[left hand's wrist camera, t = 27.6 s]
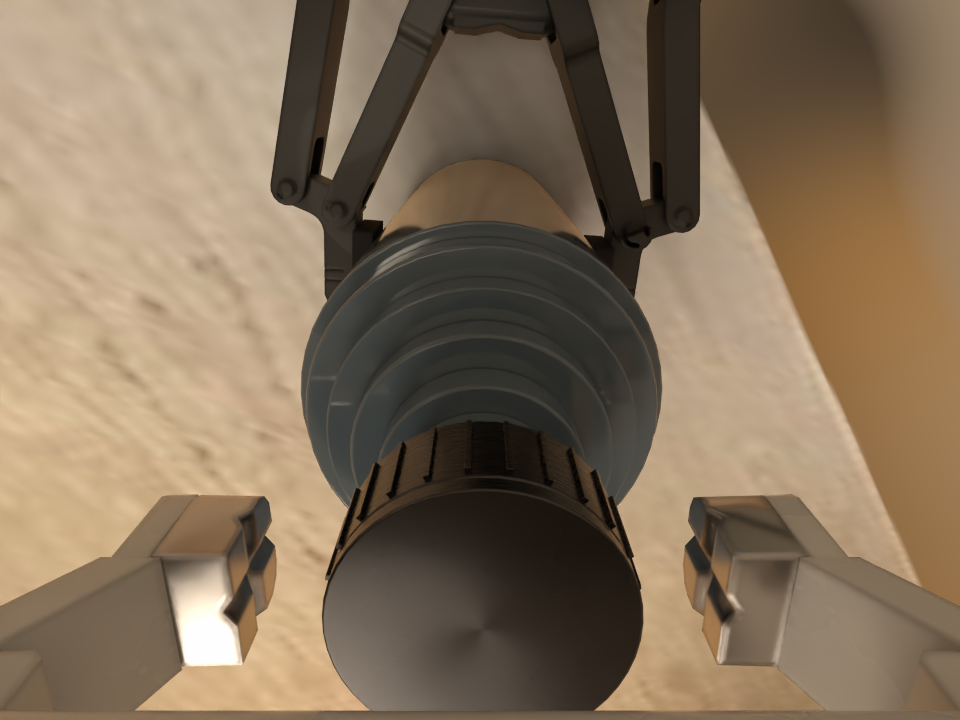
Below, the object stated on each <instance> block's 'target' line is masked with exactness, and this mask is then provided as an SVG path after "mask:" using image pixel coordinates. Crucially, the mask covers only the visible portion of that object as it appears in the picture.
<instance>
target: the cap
mask: <svg viewBox="0 0 960 720" xmlns="http://www.w3.org/2000/svg"><path fill="white" fill-rule="evenodd" d="M633 557H634V555H633V552H632V549H631V546H630V544H629V541H628V538H627V535H626V532H625V529H624V526H623V523H622V520H621V518H620V515H619V512H618V509H617V506H616V503H615V500H614V498H613V496H611V497H609V496H608V494H607V492H606V490H605V488H604V486H603V484H602V481H601V478H600V475H599V472H598V471H597V470H596V469H595V470H592V469H591V467H590V466H589V465H588V464H587V463H586V462H585V461H584V460H583V459H582V458H581V457H580V456H579V455H577V454H576V451H575V449H574V448H573V447H570V448H568V447H567V446H565V445H564V444H562V443H560V442H559V441H557V440H555V439H553V438H552V437H550V436H548V435H545V432H544V431H542V430H539V432H538V431H535V430H533V429H530V428H526V427H522V426H519V425H515V424H510V423H509V421H503V423H502V422H494V421H473V422H472V420H466V422H462V423H455V424H451V425H446V426H441V427H438V428H436V426H435V427H432V428H430V431H427V432H424V433H422V434H420V435H418V436H416V437H414V438H412V439H410V440H407V441H406V442H403V441H401V442H399V443H398V446H397V448H395V449H394V450H392V451H391V452H390V453H389V454H388V455H387V456H385V457H384V458H383V459H382V460H381V461H380V462H379V463H377V462H375V463H374V464H373V465H372V467H371V471H370V473H369V475H368V476H367V478H366V479H365V481H364V482H363V484H362V486H361V487H360V489H358V488H356V489H355V491H354V493H353V496H352V499H351V502H350V505H349V508H348V511H347V514H346V516H345V519H344V522H343V525H342V528H341V531H340V534H339V537H338V540H337V543H336V546H335V549H334V552H333V555H332V558H331V561H330V564H329V567H328V570H327V573H326V577H325V580H328V584H327V587H326V591H325V595H324V599H323V609H322V624H323V634H324V638H325V643H326V647H327V651H328V653H329V656H330V658H331V661H332V663H333V666H334V667H335V669H336V671H337V672H338V674H339V676H340V678H341V679H342V681H343V682H344V683H345V685H346V686H347V687H348V688H349V690H350V691H351V692H352V693H353V694H354V695H355V696H356V697H357V698H358V699H359V700H360V701H361V702H362V703H363V704H364V705H365V706H366V707H367V708H369V709H370V710H371V711H594V710H595V709H596V708H598V707H599V706H600V705H601V704H602V703H603V702H605V701H606V700H607V699H608V698H609V697H610V695H611V694H612V693H613V692H614V691H615V690H616V689H617V688H618V687H619V685H620V684H621V682H622V681H623V679H624V678H625V676H626V675H627V673H628V672H629V670H630V668H631V665H632V663H633V661H634V659H635V657H636V654H637V651H638V648H639V644H640V641H641V636H642V629H643V603H642V598H641V592H640V589H641V584H640V581H639V578H638V575H637V572H636V569H635V566H634V563H633V560H632V558H633Z"/></svg>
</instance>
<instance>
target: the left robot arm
mask: <svg viewBox="0 0 960 720" xmlns="http://www.w3.org/2000/svg"><path fill="white" fill-rule="evenodd" d="M271 522H272V519H271V513H270V506H269V502H268V501H267V499H266V498H265V497H264V496H223V495H200V496H199V495H168V496H163V497H161V498H160V499H159V501H158V502H157V503H156V504H155V505H154V507H153V508H152V509H151V510H150V511H149V513H148V514H147V515H146V516H145V517H144V519H143V520H142V521H141V522H140V523H139V525H138V526H137V527H136V528H135V529H134V531H133V532H132V533H131V534H130V535H129V537H128V538H127V539H126V540H125V541H124V543H123V544H122V545H121V546H120V547H119V548H118V550H117V551H116V552H115V553H114V554H113V556H112V557H100V558H98V559H96V560H94V561H92V562H90V563H88V564H86V565H84V566H82V567H80V568H78V569H76V570H74V571H72V572H70V573H67V574H65V575H63V576H61V577H59V578H57V579H55V580H53V581H51V582H49V583H47V584H45V585H43V586H41V587H39V588H37V589H35V590H33V591H31V592H29V593H27V594H25V595H22V596H20V597H18V598H16V599H14V600H12V601H10V602H8V603H6V604H4V605H2V606H0V720H960V606H958V605H956V604H954V603H951V602H949V601H947V600H945V599H943V598H941V597H939V596H937V595H935V594H933V593H931V592H929V591H927V590H925V589H923V588H921V587H919V586H917V585H915V584H913V583H911V582H909V581H907V580H905V579H903V578H901V577H899V576H897V575H894V574H892V573H890V572H888V571H886V570H884V569H882V568H880V567H878V566H876V565H874V564H872V563H870V562H868V561H866V560H864V559H862V558H860V557H848V556H847V555H846V553H845V552H844V551H843V550H842V549H841V547H840V546H839V545H838V544H837V543H836V541H835V540H834V539H833V538H832V537H831V535H830V534H829V533H828V532H827V531H826V529H825V528H824V527H823V526H822V525H821V523H820V522H819V521H818V520H817V519H816V518H815V516H814V515H813V514H812V513H811V512H810V510H809V509H808V508H807V507H806V506H805V504H804V503H803V502H802V501H801V500H800V498H799V497H796V496H794V495H792V494H787V495H762V496H725V497H694V498H693V500H692V503H691V506H690V511H689V518H688V522H689V524H690V526H691V528H692V530H693V532H694V534H695V536H694V537H693V538H692V539H691V540H690V541H689V542H688V543H687V544H686V545H685V551H684V562H683V568H684V582H685V587H686V591H687V595H688V598H689V600H690V603H691V605H692V608H693V609H695V610H696V611H697V612H699V613H700V614H702V615H703V616H704V620H703V627H702V631H703V633H704V636H705V638H706V640H707V642H708V645H709V647H710V649H711V651H712V654H713V656H714V658H715V661H716V663H717V665H743V666H778V670H779V671H781V672H782V673H783V674H784V675H785V676H786V677H788V678H789V679H790V680H791V681H792V682H793V683H795V684H796V685H797V686H798V687H799V688H800V689H802V690H803V691H804V692H805V693H806V694H807V695H809V696H810V697H811V698H812V699H813V700H814V701H816V702H817V703H818V704H819V705H820V706H821V707H822V708H824V709H825V710H826V711H134V710H135V709H137V708H138V707H139V706H140V705H141V704H142V703H144V702H145V701H146V700H147V699H148V698H149V697H151V696H152V695H153V694H154V693H155V692H156V691H158V690H159V689H160V688H161V687H162V686H163V685H165V684H166V683H167V682H168V681H169V680H170V679H172V678H173V677H174V676H175V675H176V674H177V673H179V672H180V671H181V670H182V667H181V666H216V665H243V663H244V661H245V658H246V656H247V654H248V652H249V649H250V647H251V645H252V642H253V640H254V638H255V636H256V633H257V631H258V627H257V620H256V616H257V615H258V614H260V613H261V612H263V611H264V610H265V609H267V608H268V605H269V603H270V600H271V598H272V595H273V591H274V585H275V580H276V564H277V559H276V550H275V545H274V544H273V543H272V542H271V541H270V540H269V539H268V538H267V537H266V536H265V534H266V532H267V530H268V528H269V526H270V524H271Z"/></svg>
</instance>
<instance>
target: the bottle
mask: <svg viewBox="0 0 960 720" xmlns="http://www.w3.org/2000/svg"><path fill="white" fill-rule="evenodd" d="M661 396H662V378H661V365H660V360H659V355H658V350H657V345H656V342H655V340H654V337H653V334H652V331H651V328H650V326H649V323H648V321H647V319H646V318H645V316H644V314H643V312H642V310H641V308H640V306H639V304H638V303H637V301H636V300H635V299H634V297H633V296H632V295H631V293H630V292H629V290H628V289H627V288H626V286H625V285H624V284H623V283H622V281H621V280H620V279H619V278H618V276H617V275H616V274H615V273H614V272H613V270H612V269H611V268H610V267H609V266H608V264H607V263H606V262H605V261H604V260H603V258H602V257H601V256H600V255H599V254H598V252H597V251H596V250H595V249H594V248H593V246H592V245H591V244H590V243H589V242H588V240H587V239H586V238H585V237H584V236H583V234H582V233H581V232H580V231H579V230H578V228H577V227H576V226H575V225H574V224H573V222H572V221H571V220H570V219H569V218H568V216H567V215H566V214H565V213H564V212H563V210H562V209H561V208H560V207H559V206H558V204H557V203H556V202H555V201H554V200H553V198H552V197H551V196H550V195H549V193H548V192H547V191H546V190H545V189H544V188H543V187H542V186H541V185H540V184H539V182H538V181H537V180H535V179H534V178H533V177H531V176H530V175H529V174H528V173H526V172H524V171H523V170H521V169H519V168H517V167H515V166H512V165H510V164H508V163H504V162H500V161H496V160H488V159H473V160H466V161H461V162H458V163H454V164H451V165H449V166H447V167H444V168H442V169H440V170H439V171H437V172H435V173H434V174H432V175H431V176H430V177H429V178H427V179H426V180H425V181H424V182H423V183H422V184H421V185H420V186H419V187H418V188H417V189H416V190H415V191H414V193H413V194H412V195H411V196H410V198H409V199H408V200H407V201H406V203H405V204H404V205H403V206H402V207H401V209H400V210H399V211H398V212H397V214H396V215H395V216H394V217H393V219H392V220H391V221H390V222H389V223H388V225H387V226H386V227H385V228H384V230H383V231H382V232H381V233H380V235H379V236H378V237H377V238H376V239H375V241H374V242H373V243H372V244H371V246H370V247H369V248H368V249H367V251H366V252H365V253H364V254H363V256H362V257H361V258H360V259H359V260H358V262H357V263H356V264H355V265H354V267H353V268H352V269H351V270H350V272H349V273H348V274H347V275H346V276H345V278H344V279H343V280H342V281H341V283H340V284H339V285H338V286H337V288H336V289H335V290H334V292H333V293H332V295H331V296H330V298H329V299H328V300H327V302H326V303H325V305H324V306H323V308H322V310H321V312H320V314H319V316H318V318H317V320H316V322H315V324H314V326H313V328H312V331H311V334H310V337H309V340H308V343H307V346H306V349H305V355H304V360H303V366H302V374H301V398H302V407H303V415H304V419H305V423H306V427H307V430H308V434H309V437H310V440H311V444H312V448H313V451H314V454H315V456H316V459H317V461H318V463H319V466H320V468H321V471H322V472H323V474H324V476H325V478H326V479H327V481H328V483H329V484H330V486H331V488H332V489H333V491H334V492H335V493H336V495H337V496H338V497H339V498H340V500H341V501H342V502H343V504H344V505H345V506H346V507H347V508H349V505H350V502H351V499H352V496H353V493H354V491H355V489H356V488H358V489H360V487H361V486H362V484H363V482H364V481H365V479H366V478H367V476H368V475H369V473H370V471H371V467H372V465H373V464H374V463H375V462H377V463H379V462H380V461H381V460H382V459H383V458H384V457H385V456H387V455H388V454H389V453H390V452H391V451H392V450H394V449H395V448H397V446H398V443H399V442H401V441H403V442H406V441H407V440H410V439H412V438H414V437H416V436H418V435H420V434H422V433H424V432H427V431H430V428H432V427H435V426H436V428H438V427H441V426H446V425H451V424H455V423H462V422H466V420H472V422H473V421H494V422H502V423H503V421H509V423H510V424H515V425H519V426H522V427H526V428H530V429H533V430H535V431H538V432H539V430H542V431H544V432H545V435H548V436H550V437H552V438H553V439H555V440H557V441H559V442H560V443H562V444H564V445H565V446H567V447H568V448H570V447H573V448H574V449H575V451H576V454H577V455H579V456H580V457H581V458H582V459H583V460H584V461H585V462H586V463H587V464H588V465H589V466H590V467H591V469H592V470H595V469H596V470H597V471H598V472H599V475H600V478H601V481H602V484H603V486H604V488H605V490H606V492H607V494H608V496H609V497H611V496H613V498H614V500H615V503H616V506H618V505H619V503H620V502H621V501H622V500H623V499H624V497H625V496H626V494H627V493H628V492H629V490H630V489H631V488H632V486H633V485H634V483H635V481H636V479H637V478H638V476H639V474H640V472H641V470H642V468H643V466H644V464H645V461H646V459H647V456H648V453H649V451H650V448H651V445H652V441H653V436H654V434H655V431H656V427H657V422H658V418H659V414H660V408H661Z"/></svg>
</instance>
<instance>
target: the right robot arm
mask: <svg viewBox="0 0 960 720" xmlns="http://www.w3.org/2000/svg"><path fill="white" fill-rule="evenodd" d="M349 2H350V0H297V3H296V10H295V17H294V24H293V31H292V38H291V45H290V52H289V59H288V66H287V73H286V80H285V87H284V94H283V101H282V108H281V115H280V122H279V129H278V136H277V143H276V150H275V157H274V164H273V171H272V178H271V192H272V194H273V197H274V198H275V199H276V200H277V201H278V202H279V203H281V204H284V205H293V206H295V207H298V208H300V209H302V210H305V211H307V212H309V213H311V214H313V215H314V216H316V217H317V218H318V219H319V221H320V222H321V224H322V226H323V229H324V261H325V296H326V298H327V300H328V299H329V298H330V296H331V295H332V293H333V292H334V290H335V289H336V288H337V286H338V285H339V284H340V283H341V281H342V280H343V279H344V278H345V276H346V275H347V274H348V273H349V272H350V270H351V269H352V268H353V267H354V265H355V264H356V263H357V262H358V260H359V259H360V258H361V257H362V256H363V254H364V253H365V252H366V251H367V249H368V248H369V247H370V246H371V244H372V243H373V242H374V241H375V239H376V238H377V237H378V236H379V235H380V233H381V232H382V231H383V221H377V220H363V211H364V210H365V208H366V206H365V205H366V203H367V201H368V199H369V197H370V195H371V193H372V190H373V188H374V186H375V184H376V182H377V180H378V178H379V175H380V173H381V171H382V169H383V167H384V165H385V163H386V160H387V158H388V156H389V154H390V152H391V150H392V147H393V145H394V143H395V141H396V139H397V137H398V135H399V132H400V130H401V128H402V126H403V124H404V122H405V120H406V117H407V115H408V113H409V111H410V109H411V107H412V105H413V102H414V100H415V98H416V96H417V94H418V92H419V90H420V87H421V85H422V83H423V81H424V79H425V77H426V75H427V72H428V70H429V68H430V66H431V64H432V62H433V60H434V58H435V56H436V55H437V53H438V51H439V49H440V47H441V45H442V43H443V41H444V39H445V37H446V34H447V32H448V30H449V29H450V30H453V31H454V32H455V34H465V35H480V34H484V33H489V32H494V31H501V32H503V33H506V34H508V35H511V36H514V37H516V38H519V39H530V40H541V39H542V38H543V37H546V39H547V42H548V45H549V49H550V52H551V55H552V58H553V61H554V64H555V66H556V68H557V70H558V73H559V76H560V80H561V83H562V86H563V90H564V93H565V96H566V100H567V103H568V106H569V110H570V113H571V116H572V120H573V123H574V126H575V130H576V133H577V136H578V140H579V143H580V146H581V150H582V153H583V156H584V160H585V163H586V166H587V170H588V173H589V176H590V180H591V183H592V186H593V190H594V193H595V196H596V200H597V203H598V206H599V210H600V213H601V216H602V220H603V223H604V226H605V234H604V238H603V237H602V236H592V235H584V237H585V238H586V239H587V240H588V242H589V243H590V244H591V245H592V246H593V248H594V249H595V250H596V251H597V252H598V254H599V255H600V256H601V257H602V258H603V260H604V261H605V262H606V263H607V264H608V266H609V267H610V268H611V269H612V270H613V272H614V273H615V274H616V275H617V276H618V278H619V279H620V280H621V281H622V283H623V284H624V285H625V286H626V288H627V289H628V290H629V292H630V293H631V295H632V296H633V297H634V296H635V289H636V283H637V277H638V270H639V264H640V257H641V253H642V250H643V249H644V248H645V247H647V246H648V245H649V243H650V242H651V240H652V239H654V238H656V237H659V236H663V235H666V234H670V233H673V232H679V233H684V232H688V231H690V230H691V229H693V228H694V227H695V226H696V224H697V223H698V221H699V216H700V2H701V0H650V2H649V8H648V15H647V69H648V112H649V154H650V197H651V199H647V200H644V201H641V200H640V196H639V193H638V189H637V185H636V182H635V178H634V175H633V171H632V167H631V164H630V160H629V157H628V153H627V149H626V146H625V142H624V139H623V135H622V132H621V128H620V124H619V121H618V117H617V114H616V110H615V106H614V103H613V99H612V96H611V92H610V88H609V85H608V81H607V78H606V74H605V70H604V67H603V63H602V60H601V56H600V51H599V40H598V35H597V31H596V28H595V24H594V20H593V17H592V13H591V9H590V6H589V2H588V0H410V1H409V3H408V5H407V7H406V10H405V12H404V14H403V16H402V19H401V21H400V24H399V27H398V31H397V35H396V38H395V40H394V42H393V45H392V47H391V49H390V51H389V54H388V56H387V58H386V61H385V63H384V65H383V67H382V70H381V72H380V74H379V76H378V79H377V81H376V83H375V85H374V88H373V90H372V92H371V94H370V97H369V99H368V101H367V103H366V106H365V108H364V110H363V112H362V115H361V117H360V119H359V121H358V124H357V126H356V128H355V130H354V133H353V135H352V137H351V139H350V142H349V144H348V146H347V148H346V151H345V153H344V155H343V157H342V160H341V162H340V164H339V166H338V169H337V171H336V173H335V175H334V178H333V180H331V179H329V178H326V177H324V176H322V175H321V171H322V165H323V159H324V153H325V147H326V141H327V135H328V129H329V123H330V117H331V111H332V105H333V99H334V93H335V88H336V82H337V76H338V70H339V64H340V58H341V52H342V46H343V40H344V34H345V28H346V22H347V16H348V10H349Z"/></svg>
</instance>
